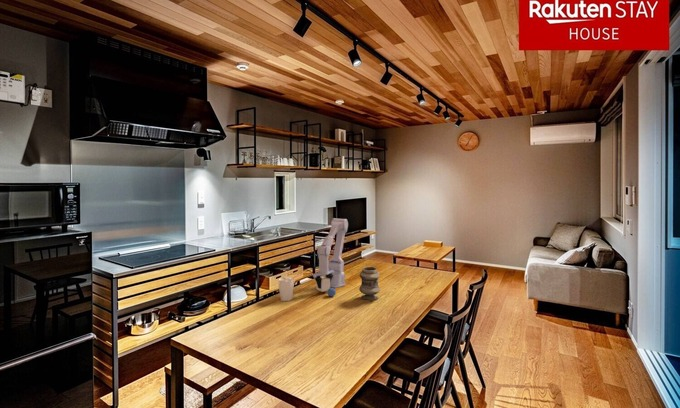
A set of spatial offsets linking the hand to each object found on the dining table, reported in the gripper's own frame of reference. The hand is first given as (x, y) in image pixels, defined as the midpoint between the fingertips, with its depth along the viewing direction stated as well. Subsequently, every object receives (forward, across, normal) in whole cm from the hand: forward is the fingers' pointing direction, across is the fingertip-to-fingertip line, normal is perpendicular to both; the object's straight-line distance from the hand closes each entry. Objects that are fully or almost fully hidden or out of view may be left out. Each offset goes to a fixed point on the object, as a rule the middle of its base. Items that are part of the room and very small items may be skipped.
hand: (323, 287), depth 215 cm
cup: (+4, +24, -4) cm, 25 cm away
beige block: (+2, 0, -1) cm, 2 cm away
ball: (+1, 0, +8) cm, 8 cm away
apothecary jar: (+4, -15, +25) cm, 29 cm away
